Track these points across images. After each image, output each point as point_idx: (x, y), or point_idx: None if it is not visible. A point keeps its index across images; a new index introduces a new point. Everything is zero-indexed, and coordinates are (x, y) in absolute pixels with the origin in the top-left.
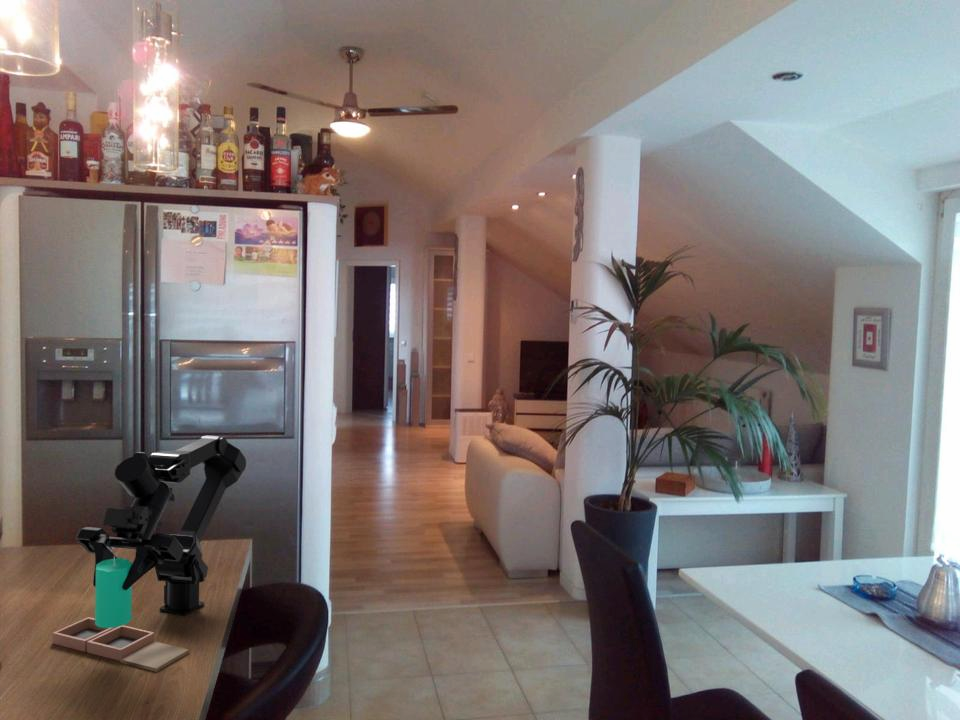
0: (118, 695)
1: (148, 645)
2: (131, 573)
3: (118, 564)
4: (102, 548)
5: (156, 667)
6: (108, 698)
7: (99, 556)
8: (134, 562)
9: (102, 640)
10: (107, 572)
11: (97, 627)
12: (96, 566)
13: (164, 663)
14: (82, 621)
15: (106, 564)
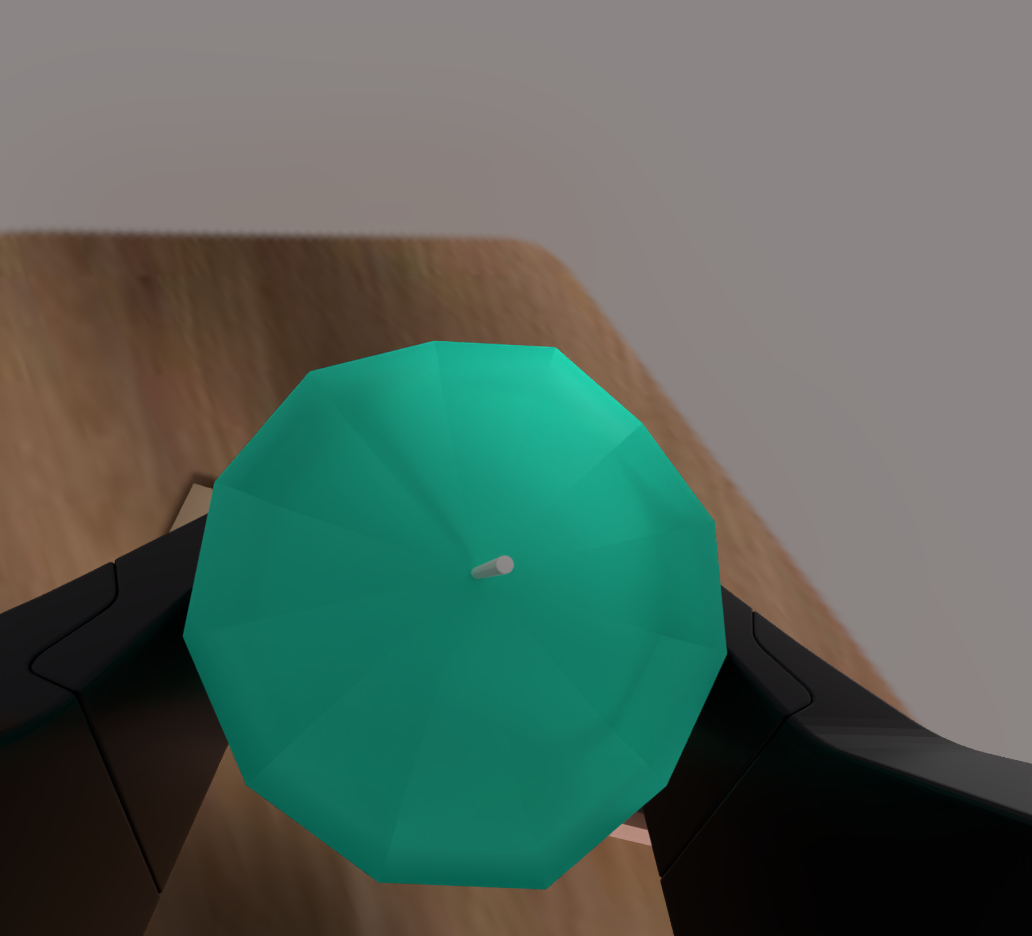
0: (273, 320)
1: None
2: (190, 534)
3: (468, 685)
4: (957, 792)
5: (195, 490)
6: (299, 302)
7: (834, 706)
8: (94, 643)
9: None
10: (443, 345)
11: (635, 814)
12: (677, 476)
13: (172, 530)
14: None
15: (631, 640)
